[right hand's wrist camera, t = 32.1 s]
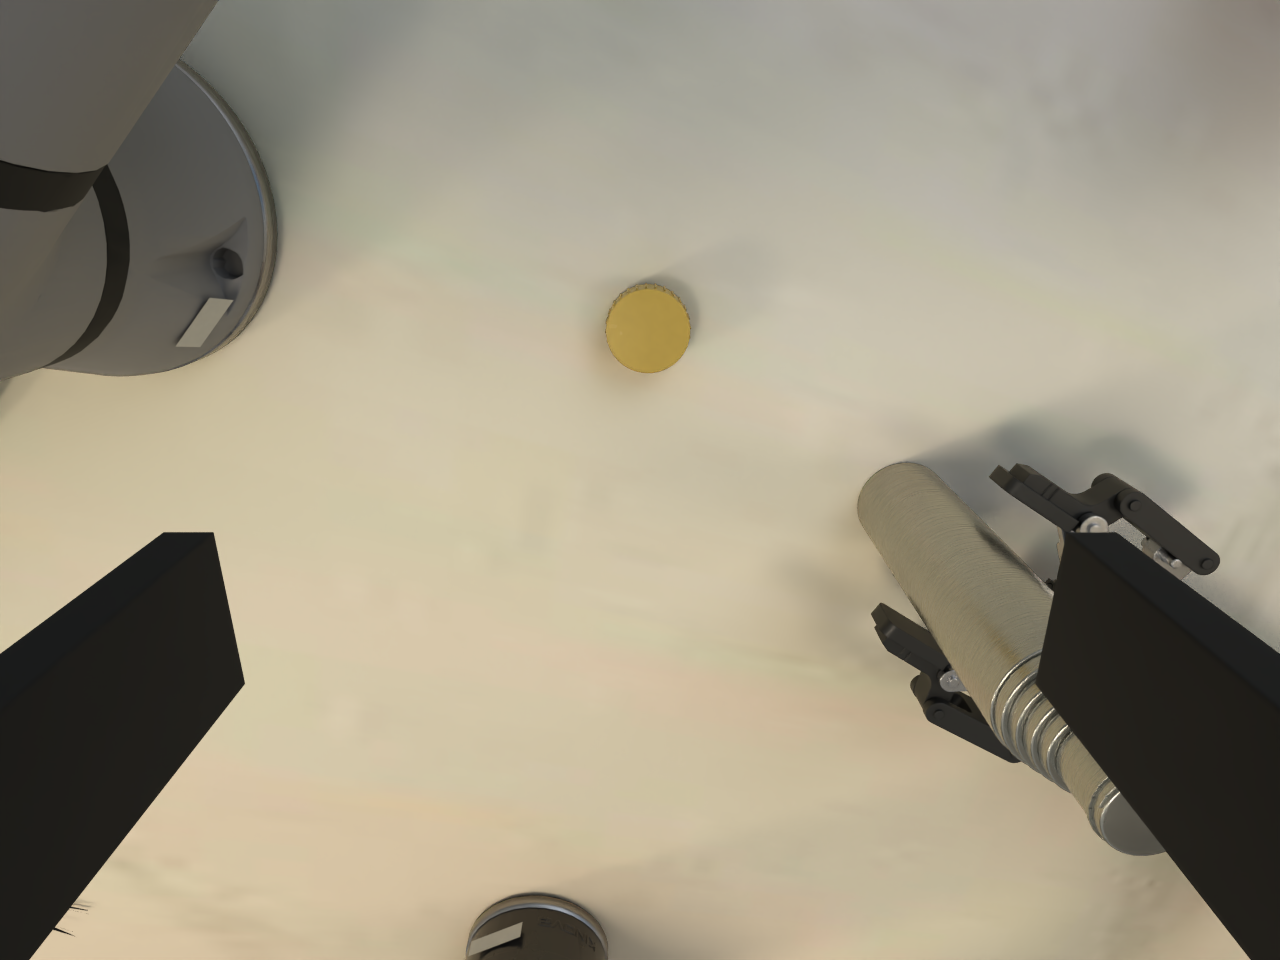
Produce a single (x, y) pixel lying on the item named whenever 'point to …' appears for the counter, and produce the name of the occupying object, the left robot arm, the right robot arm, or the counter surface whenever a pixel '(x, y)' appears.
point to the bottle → (990, 633)
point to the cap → (648, 328)
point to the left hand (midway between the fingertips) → (937, 549)
